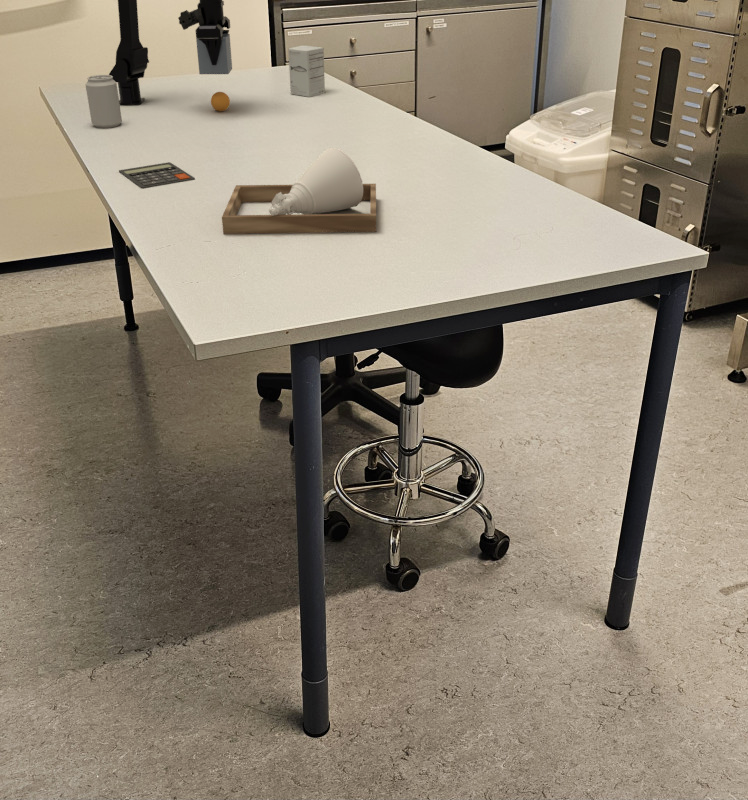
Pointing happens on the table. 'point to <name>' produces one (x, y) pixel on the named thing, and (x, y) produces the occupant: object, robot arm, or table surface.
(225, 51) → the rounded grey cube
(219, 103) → the ball
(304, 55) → the supplement box
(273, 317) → the table surface
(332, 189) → the rocket engine
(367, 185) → the wooden tray
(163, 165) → the calculator
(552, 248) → the table surface
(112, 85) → the can
